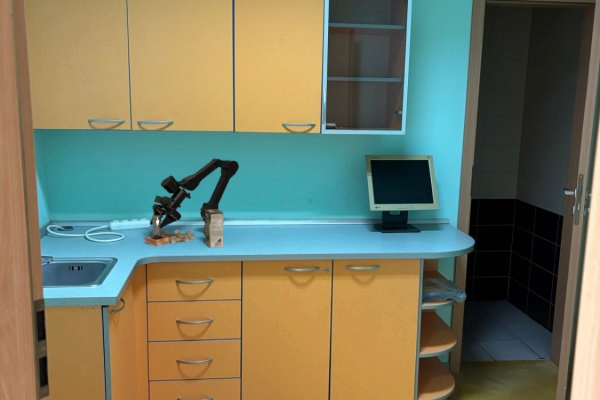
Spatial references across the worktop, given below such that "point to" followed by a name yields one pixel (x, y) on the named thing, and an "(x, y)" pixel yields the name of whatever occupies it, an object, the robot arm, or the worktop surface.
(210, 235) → the coffee box
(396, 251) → the worktop surface
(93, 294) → the worktop surface
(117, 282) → the worktop surface
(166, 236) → the sprocket
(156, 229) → the pin
